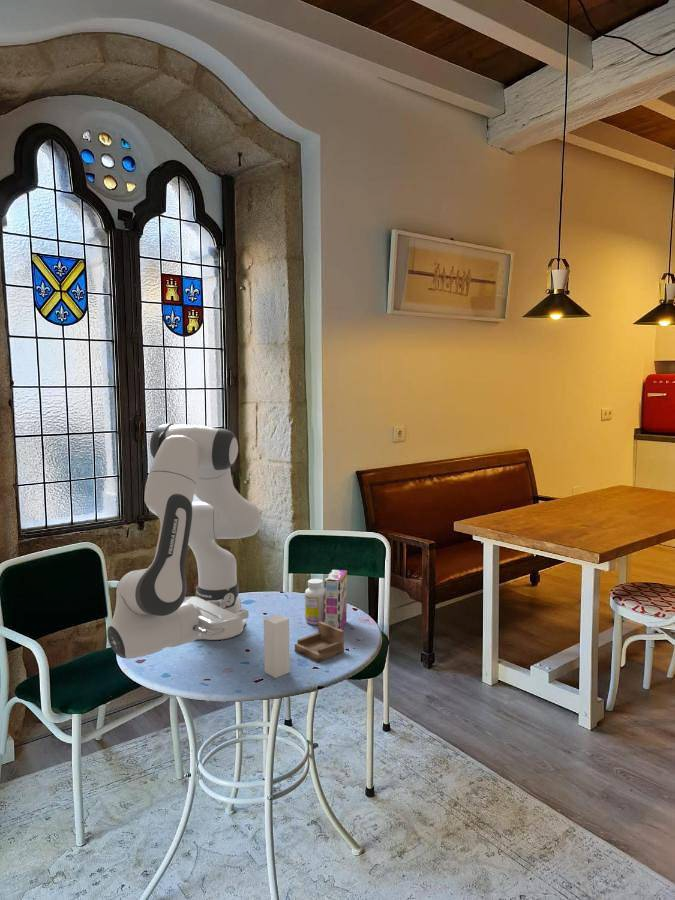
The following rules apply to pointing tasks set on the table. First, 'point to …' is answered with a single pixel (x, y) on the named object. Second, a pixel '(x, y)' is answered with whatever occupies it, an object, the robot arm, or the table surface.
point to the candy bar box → (335, 598)
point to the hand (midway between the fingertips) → (235, 608)
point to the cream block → (276, 645)
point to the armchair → (322, 643)
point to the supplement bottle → (314, 602)
